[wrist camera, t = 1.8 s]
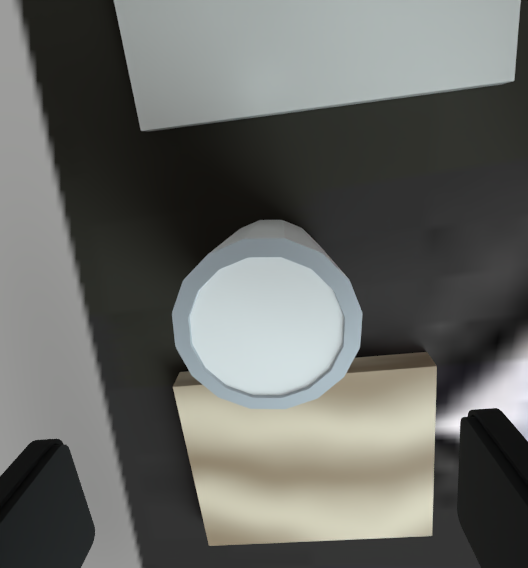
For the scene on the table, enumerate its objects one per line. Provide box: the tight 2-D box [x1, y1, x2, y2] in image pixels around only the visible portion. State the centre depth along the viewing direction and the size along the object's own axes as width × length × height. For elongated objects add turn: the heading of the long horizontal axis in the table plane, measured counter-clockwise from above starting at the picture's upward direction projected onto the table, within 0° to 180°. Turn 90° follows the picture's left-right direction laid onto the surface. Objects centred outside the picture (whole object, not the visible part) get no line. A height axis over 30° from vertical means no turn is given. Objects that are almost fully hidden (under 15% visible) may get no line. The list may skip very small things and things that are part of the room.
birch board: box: [173, 352, 437, 546], centre depth 23 cm, size 12×14×2 cm
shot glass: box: [172, 220, 362, 409], centre depth 17 cm, size 7×7×7 cm
